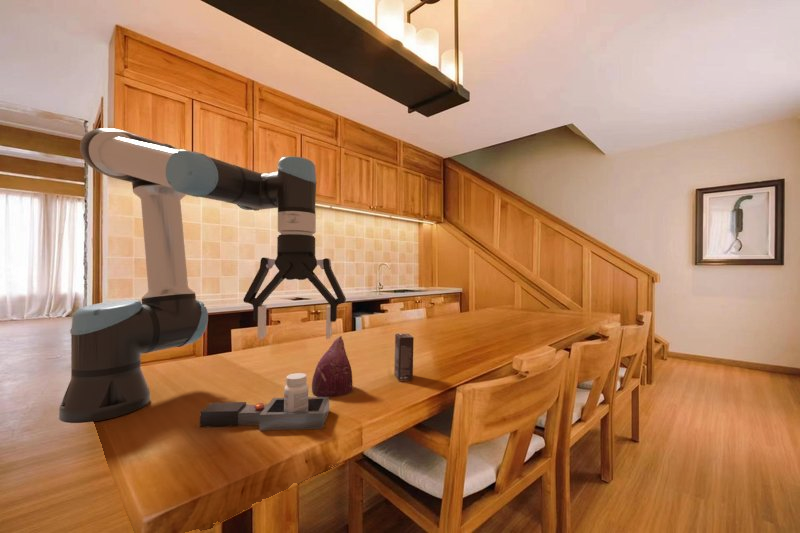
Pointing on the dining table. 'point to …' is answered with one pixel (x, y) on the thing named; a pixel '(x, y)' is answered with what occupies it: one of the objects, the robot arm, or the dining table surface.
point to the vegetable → (333, 372)
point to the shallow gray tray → (266, 415)
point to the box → (403, 357)
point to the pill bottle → (296, 393)
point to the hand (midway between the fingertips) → (295, 337)
